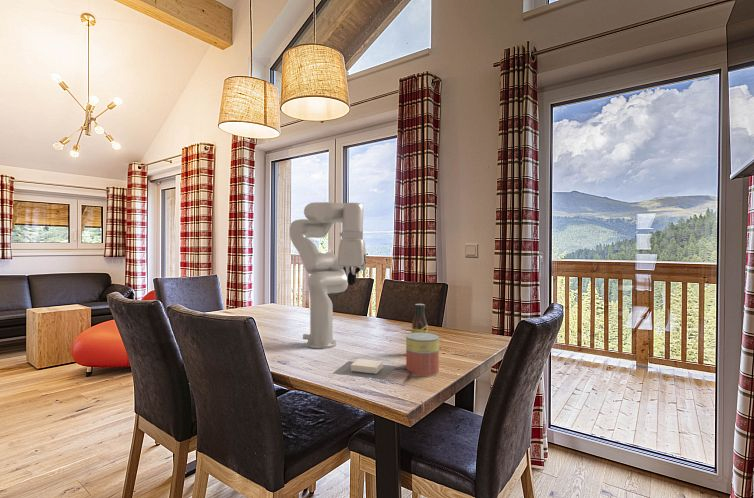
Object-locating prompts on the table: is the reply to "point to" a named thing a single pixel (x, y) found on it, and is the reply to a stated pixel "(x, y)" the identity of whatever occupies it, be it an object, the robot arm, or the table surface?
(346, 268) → the robot arm
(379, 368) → the tile
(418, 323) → the sauce bottle
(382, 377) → the slate board
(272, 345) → the table surface
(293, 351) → the table surface
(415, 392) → the table surface
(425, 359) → the canned food
